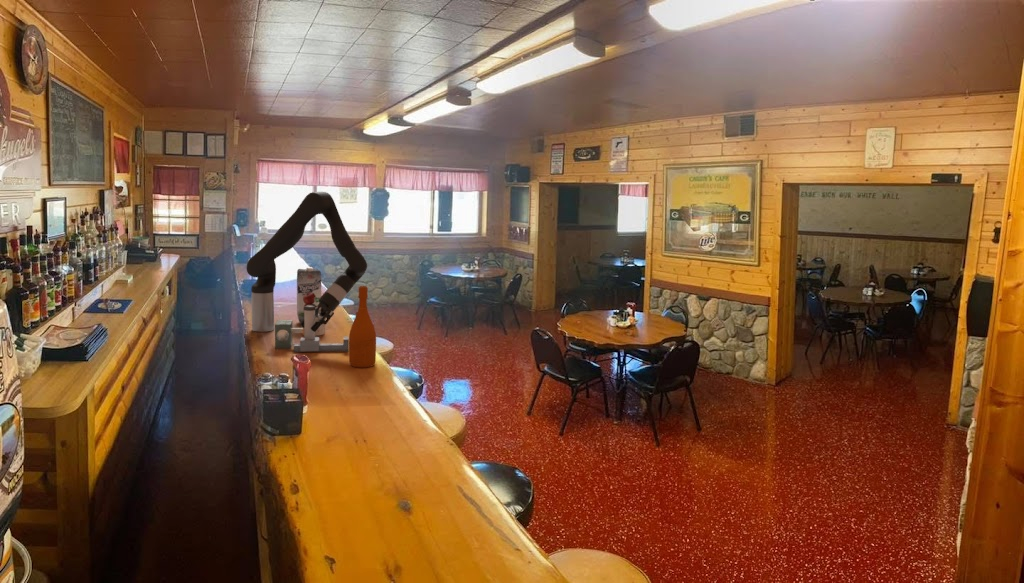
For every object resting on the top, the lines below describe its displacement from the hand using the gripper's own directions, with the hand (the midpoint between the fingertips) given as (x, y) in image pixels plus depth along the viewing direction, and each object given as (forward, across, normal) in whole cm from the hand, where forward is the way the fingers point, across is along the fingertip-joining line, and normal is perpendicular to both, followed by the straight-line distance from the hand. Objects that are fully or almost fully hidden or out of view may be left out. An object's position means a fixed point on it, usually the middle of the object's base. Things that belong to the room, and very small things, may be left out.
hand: (307, 328), depth 256 cm
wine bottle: (+2, +29, +11) cm, 31 cm away
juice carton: (-12, -45, +25) cm, 53 cm away
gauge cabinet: (+9, -12, +4) cm, 16 cm away
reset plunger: (+3, -10, +3) cm, 11 cm away
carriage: (+6, 0, +7) cm, 9 cm away
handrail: (+4, +2, +10) cm, 10 cm away
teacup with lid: (-5, -23, +19) cm, 30 cm away
